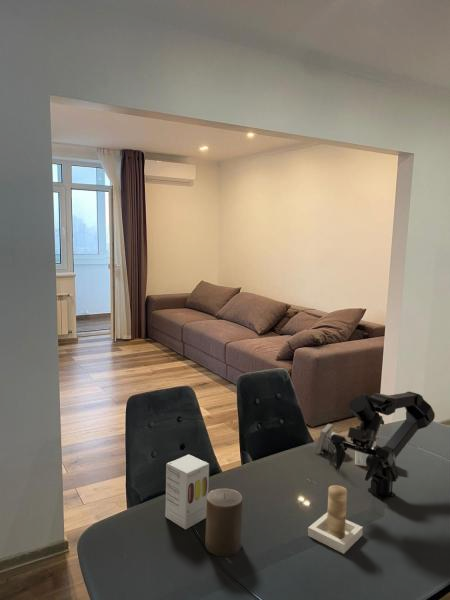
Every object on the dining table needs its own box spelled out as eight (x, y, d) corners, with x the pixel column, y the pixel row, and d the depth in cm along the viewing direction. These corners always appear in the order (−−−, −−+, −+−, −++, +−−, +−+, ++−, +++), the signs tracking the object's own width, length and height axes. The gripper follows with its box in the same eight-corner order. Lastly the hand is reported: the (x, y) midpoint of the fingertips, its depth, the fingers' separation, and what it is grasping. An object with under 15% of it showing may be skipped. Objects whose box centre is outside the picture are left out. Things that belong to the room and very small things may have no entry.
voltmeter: (309, 445, 187) (310, 422, 186) (336, 445, 188) (337, 422, 187) (330, 476, 161) (331, 450, 160) (361, 476, 162) (362, 449, 161)
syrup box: (395, 450, 170) (356, 444, 175) (396, 456, 165) (355, 450, 170) (394, 464, 171) (355, 458, 176) (395, 471, 165) (354, 464, 170)
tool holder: (327, 519, 134) (327, 511, 134) (362, 535, 127) (362, 527, 127) (307, 535, 126) (308, 527, 126) (343, 553, 119) (344, 544, 118)
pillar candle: (229, 562, 115) (231, 506, 113) (197, 548, 120) (199, 494, 118) (247, 542, 123) (249, 490, 121) (217, 530, 128) (219, 479, 127)
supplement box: (185, 530, 127) (186, 473, 126) (164, 517, 133) (164, 463, 132) (208, 516, 134) (210, 462, 133) (187, 504, 140) (188, 453, 139)
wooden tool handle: (341, 528, 129) (343, 485, 128) (347, 539, 124) (349, 494, 123) (324, 528, 129) (326, 485, 127) (329, 539, 124) (331, 494, 122)
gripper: (333, 409, 143) (314, 453, 136) (392, 424, 131) (374, 474, 123) (343, 426, 149) (326, 469, 142) (400, 442, 137) (384, 490, 130)
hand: (351, 475), depth 134 cm, fingers open, 9 cm apart
